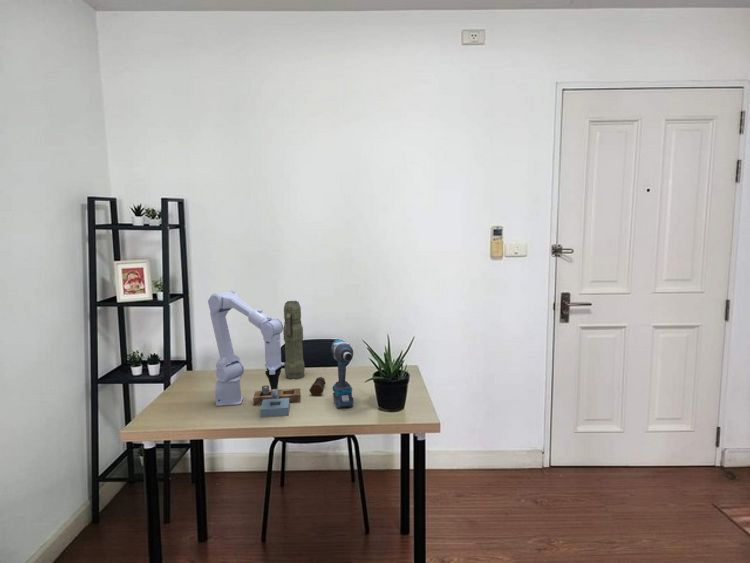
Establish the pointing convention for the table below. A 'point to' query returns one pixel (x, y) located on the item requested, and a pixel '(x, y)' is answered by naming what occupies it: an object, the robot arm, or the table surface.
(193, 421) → the table surface
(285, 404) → the socket block
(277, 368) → the robot arm
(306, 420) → the table surface
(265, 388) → the black pin
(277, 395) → the steel pin
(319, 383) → the bolt
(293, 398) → the rack
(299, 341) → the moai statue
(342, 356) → the impact wrench
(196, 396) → the table surface
